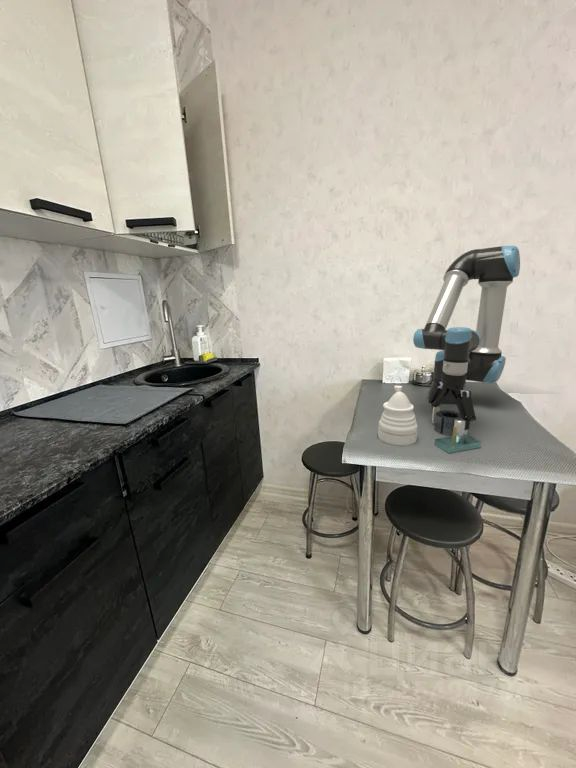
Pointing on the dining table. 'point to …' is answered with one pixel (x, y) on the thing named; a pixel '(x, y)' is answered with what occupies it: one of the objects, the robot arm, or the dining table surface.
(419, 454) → the dining table surface
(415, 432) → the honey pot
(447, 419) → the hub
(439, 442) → the teal two-tone fixture
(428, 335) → the robot arm
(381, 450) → the dining table surface
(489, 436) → the dining table surface
